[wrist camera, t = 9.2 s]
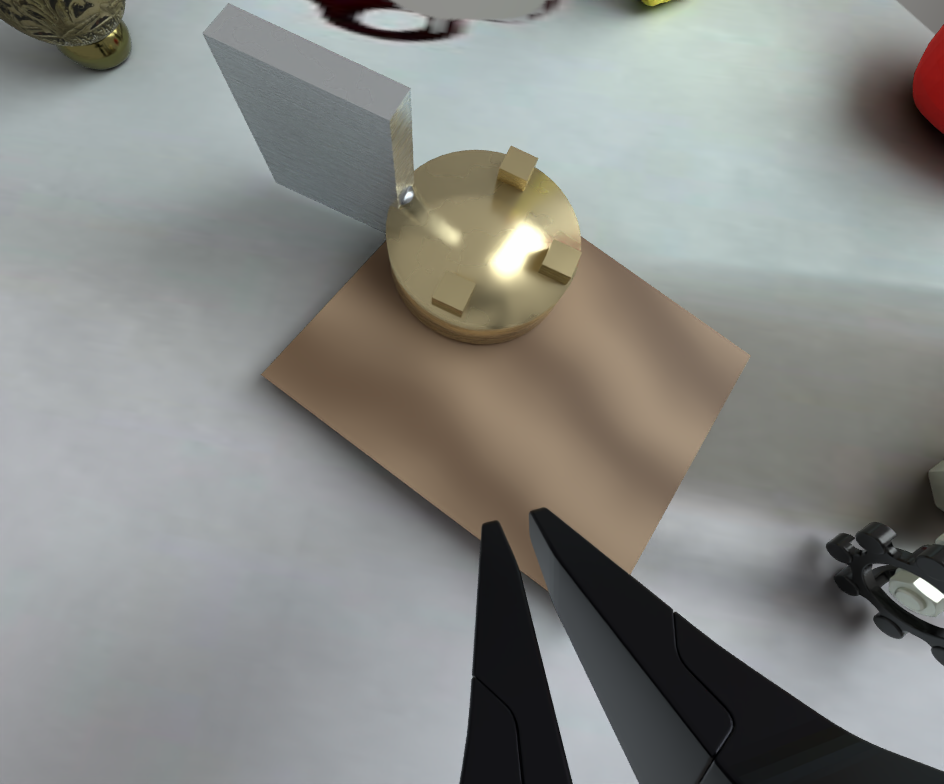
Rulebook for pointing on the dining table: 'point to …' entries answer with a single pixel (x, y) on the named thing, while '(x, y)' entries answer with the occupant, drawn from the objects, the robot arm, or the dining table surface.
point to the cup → (74, 28)
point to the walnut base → (523, 403)
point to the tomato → (931, 82)
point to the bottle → (653, 2)
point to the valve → (897, 576)
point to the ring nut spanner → (404, 183)
